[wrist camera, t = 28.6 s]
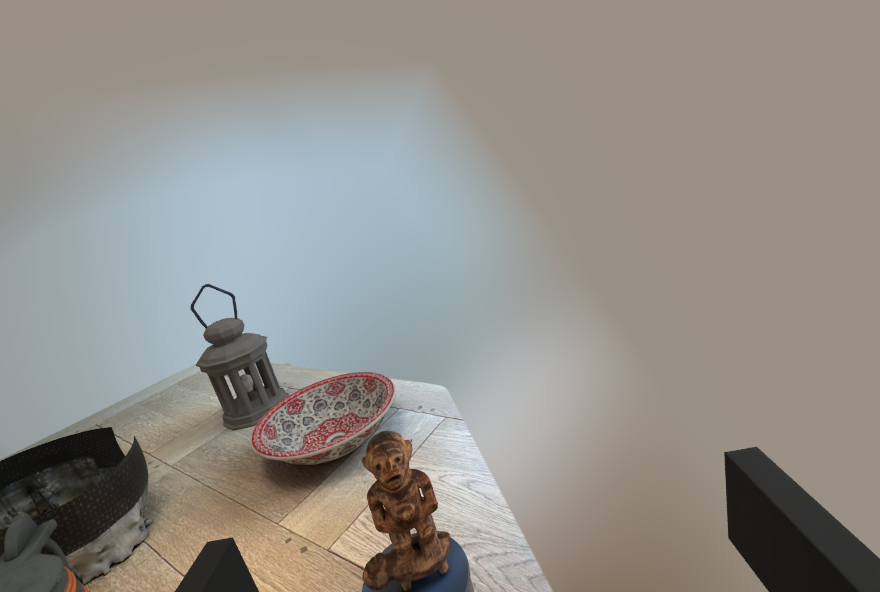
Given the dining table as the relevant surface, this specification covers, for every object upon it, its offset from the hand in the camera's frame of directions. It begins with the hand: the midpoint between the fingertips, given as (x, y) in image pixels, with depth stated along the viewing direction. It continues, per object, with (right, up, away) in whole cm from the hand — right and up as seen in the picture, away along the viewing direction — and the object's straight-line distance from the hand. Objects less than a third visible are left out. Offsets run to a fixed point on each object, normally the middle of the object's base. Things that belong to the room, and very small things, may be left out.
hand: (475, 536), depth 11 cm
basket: (-66, -38, +63) cm, 99 cm away
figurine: (-3, -20, +28) cm, 35 cm away
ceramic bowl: (-22, -24, +75) cm, 82 cm away
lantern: (-49, -24, +98) cm, 112 cm away
